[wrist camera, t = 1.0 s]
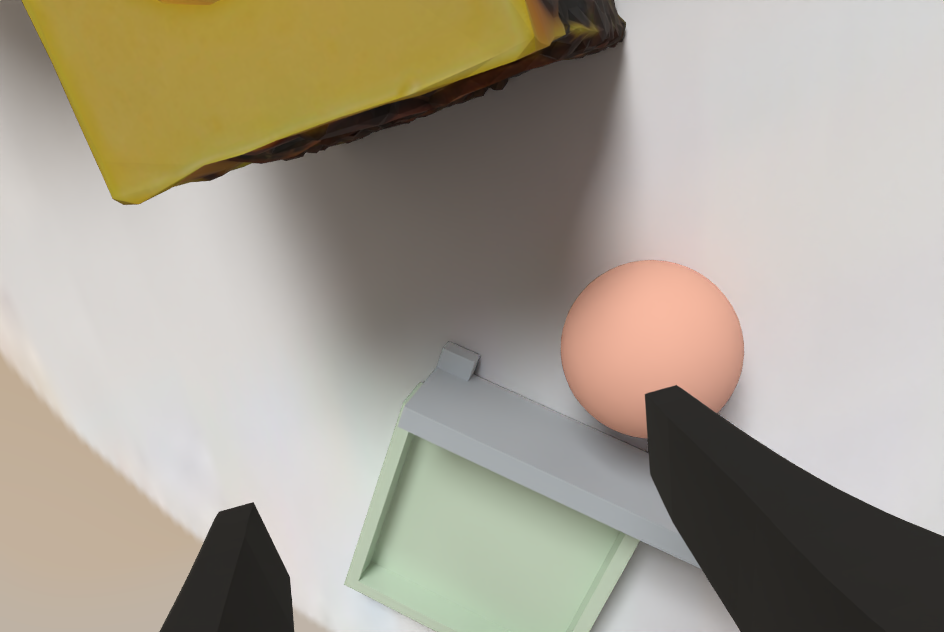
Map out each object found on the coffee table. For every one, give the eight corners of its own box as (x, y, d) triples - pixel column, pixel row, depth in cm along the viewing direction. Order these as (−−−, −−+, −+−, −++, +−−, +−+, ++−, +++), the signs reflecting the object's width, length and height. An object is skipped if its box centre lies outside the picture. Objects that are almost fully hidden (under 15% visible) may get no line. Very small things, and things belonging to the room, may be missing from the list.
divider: (784, 490, 24) (793, 561, 21) (749, 543, 25) (753, 618, 22) (448, 341, 26) (410, 385, 23) (429, 396, 27) (391, 446, 24)
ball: (772, 278, 22) (784, 346, 17) (698, 413, 24) (692, 503, 20) (612, 214, 23) (585, 263, 18) (555, 351, 25) (517, 424, 20)
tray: (656, 490, 26) (652, 518, 24) (563, 660, 30) (555, 692, 28) (420, 382, 27) (403, 402, 25) (361, 558, 31) (344, 584, 29)
